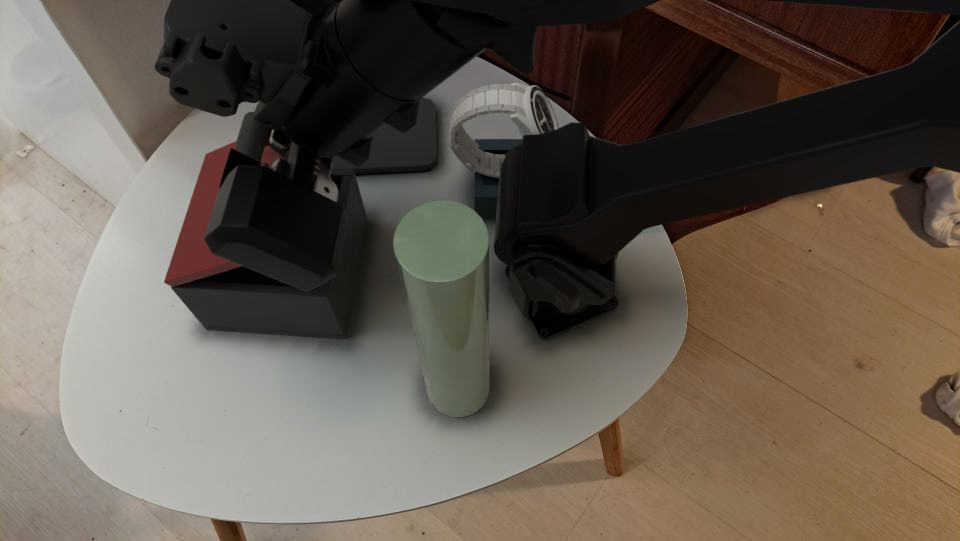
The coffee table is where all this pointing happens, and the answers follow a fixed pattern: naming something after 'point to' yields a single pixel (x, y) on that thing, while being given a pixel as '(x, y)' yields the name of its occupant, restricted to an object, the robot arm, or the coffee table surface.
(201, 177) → the storage box lid
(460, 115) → the watch
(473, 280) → the pale green cylinder
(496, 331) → the coffee table surface
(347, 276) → the lidded storage box
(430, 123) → the phone
